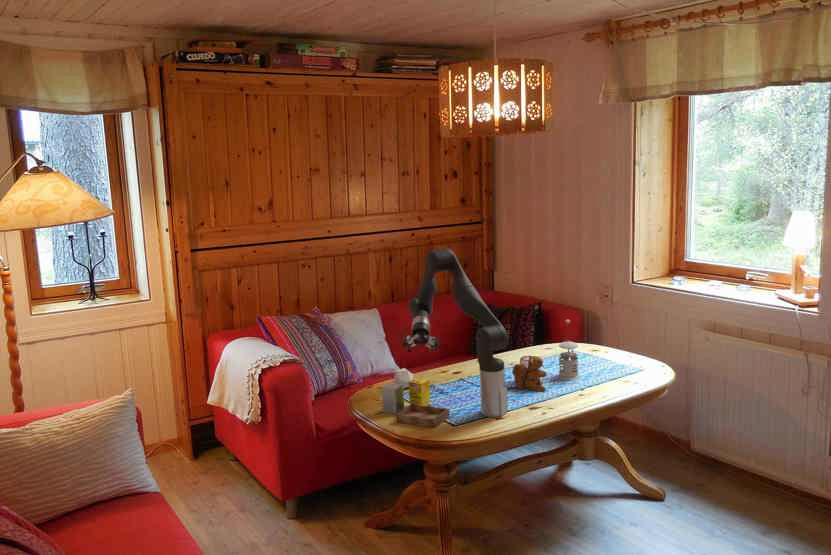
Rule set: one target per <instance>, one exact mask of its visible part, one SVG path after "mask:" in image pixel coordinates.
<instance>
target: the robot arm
mask: <svg viewBox="0 0 831 555" xmlns="http://www.w3.org/2000/svg"><path fill="white" fill-rule="evenodd" d="M424 261H425V262H424V268H423V274H422V275H423V276H422V280H421V285H420V286H419V289H418V292H417V296H416V297H414V298H412V299H411V300H410V301H409V303H408V311H409V314H410V315H411V318H412V322H411V335H408V334H407V333H404V334H403V340H402V347H403V348H406V351H407V352H408V354H411V352H412V347H415V346H416V345H418V346H419V345H420V346H425V347H427V348H429V352H430V353H429V354H430V355H433V354H434V353H435V349H439V336H438V335H437V334H436V335H434V336H431V328H430V327H431V324H430V316H431V315H432V313H433V310H434V304H433V301H434V298H435V295H436V293H437V291H438V284H437V281H436V279H435V278H434V277H435V275H436V274H437V273H443V272H449V273H450V274H451V276H452V280H453V281H452V287H451V288H452V290H451V291H452V292H451V295H452V298H453V300H454V302H455V303H456V305H457V306H458V308H459V309H460V311H462V312H463V313H464V314H465V315H467V316H469V317H470V318H472V319H473V320H475V321H477V322H478V323H480V324H481V325H482V326H483V327H481V328H479V329H477V331H476V334H475V345H476V346H475V347H476V354H477V356H476V357H477V361H478V365H479V389H480V392H479V393H480V412H481V414H482V415H483V416H486V417H491V418H492V417H493V418H494V417H495V418H497V417H500V418H501V417H503V416H504V415H506V414H507V413H508V412H509V408H508V405H509V404H508V387H506V379H505V377H506V376H505V361H504V360H503V359H502V358H498V357H494V353H493V352H496V351H499V350H503V349H505V348H507V347H508V346H509V344H510V343H509V342H510V338H509V335H508V331H507V330H506V329H505V327H504V326H503V325H502V323H501V321H499V320H498V318H497V317H496V316H495V315H494V314H493V312H492V311H491V310H490V309H489V307H488V305H487V304H486V303H485V302H484V300H483V299H482V296H481V295H480V293H479V292H478V291H477V289H476V287H475V286H474V285H473V284H472V282H471V280H470V279H469V277H468V276H467V275H466V273H465V271H464V269H463V267H462V266H461V263H460V261H459V259H458V258H457V256H456V254H455V252H454V251H453V250H452V249H450V248H449V247H443V248H438V249H433V250H431V251H428V253H427V254H426V257H425V260H424Z"/></svg>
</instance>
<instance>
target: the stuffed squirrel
mask: <svg viewBox="0 0 831 555" xmlns="http://www.w3.org/2000/svg"><path fill="white" fill-rule="evenodd" d="M527 363H528V364H527V366H526V365H525V363H516V364H514V366H512V370H511V371H512V374H513V376H514V377H513V378H514V385H515V386H516V388H519V389H520V390H525V389H527V390H529V391H533V392H545V391H546V389H547V388H546V387H545V386H544V385H543V384H544V382H543V381H542V378H546V377H547V375H548V374H547V372H546V371H545V370H543V369H541V368H544V364H543V363H544V361H543V359H542V358H541V357H539V356H535V355H529V356H528V360H527Z"/></svg>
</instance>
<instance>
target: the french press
mask: <svg viewBox="0 0 831 555" xmlns="http://www.w3.org/2000/svg"><path fill="white" fill-rule="evenodd" d="M565 323H566V324H567V325H569V324H571V320H570V319H566V320H565ZM558 347H559V348H560V349H565V350H567V351H565V352H563V351H562V352H561V353H559V357H558V363H559V365H558V367H559V368H558V370H559V372H558V374H557V378H558V379H560V380H564V381H565V380H567V381H572V380H578V379H580V378H581V375H580V374H579V359H578V357H577V356H578V354H577V353H576V352H574V350H573V349H576V348H578V347H579V345H578V343H576V342H574V341H571V340H570V341H569V340H567V341H563V342H561V343H559V344H558ZM570 350H571V352H570Z"/></svg>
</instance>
